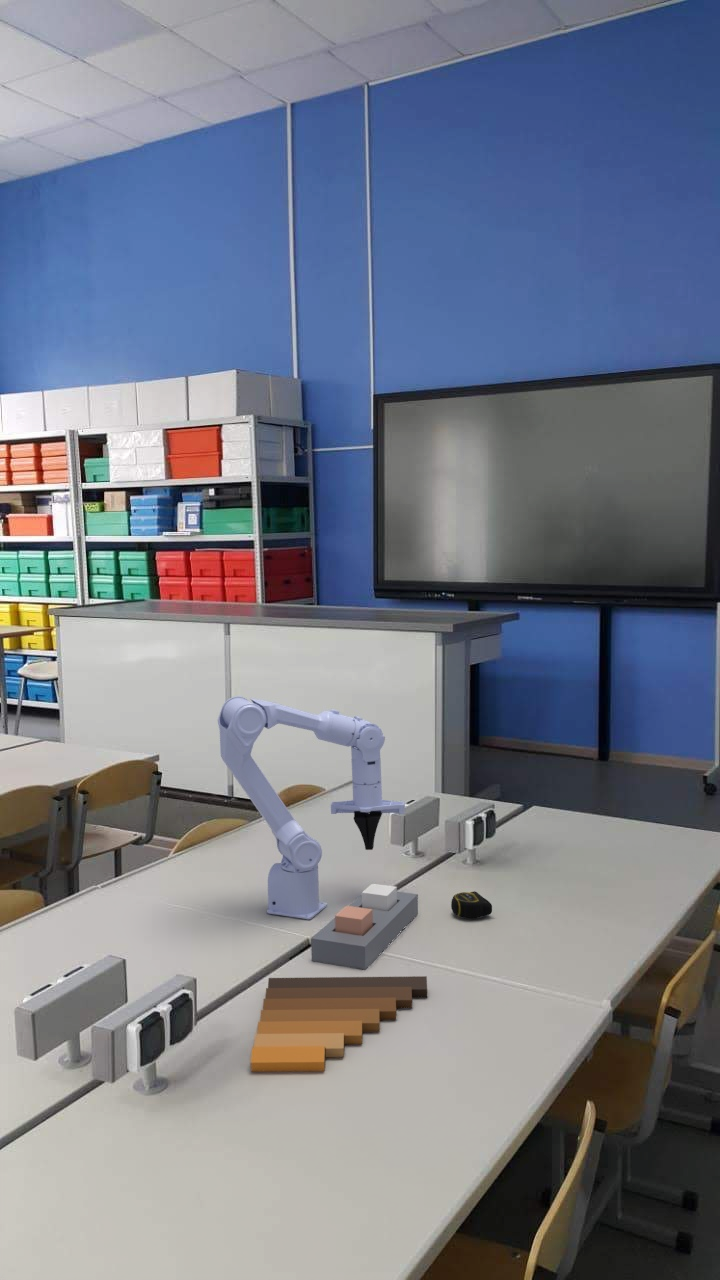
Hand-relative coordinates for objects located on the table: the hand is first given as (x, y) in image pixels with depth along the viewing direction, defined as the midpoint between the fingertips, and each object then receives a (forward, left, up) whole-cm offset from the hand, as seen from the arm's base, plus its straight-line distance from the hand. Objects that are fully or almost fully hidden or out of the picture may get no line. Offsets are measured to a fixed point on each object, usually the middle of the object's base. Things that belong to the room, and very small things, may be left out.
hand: (369, 848), depth 199 cm
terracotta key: (+7, -23, -8) cm, 26 cm away
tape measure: (+21, -1, -11) cm, 24 cm away
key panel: (+7, -17, -10) cm, 21 cm away
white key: (+7, -11, -8) cm, 16 cm away
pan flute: (+16, -50, -11) cm, 53 cm away
